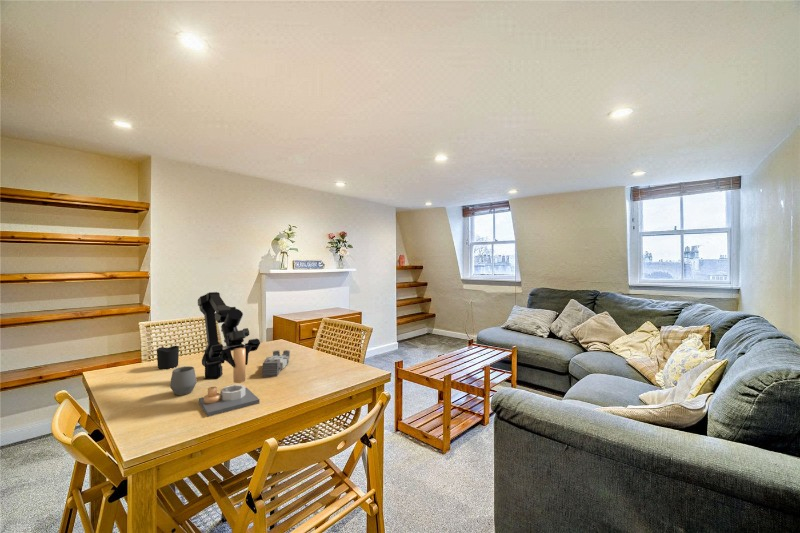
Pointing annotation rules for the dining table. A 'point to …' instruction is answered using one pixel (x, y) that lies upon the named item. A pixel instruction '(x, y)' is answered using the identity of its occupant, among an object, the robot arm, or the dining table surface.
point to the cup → (183, 380)
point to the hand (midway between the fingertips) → (240, 365)
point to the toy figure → (275, 363)
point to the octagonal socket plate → (227, 399)
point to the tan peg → (239, 365)
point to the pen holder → (167, 357)
